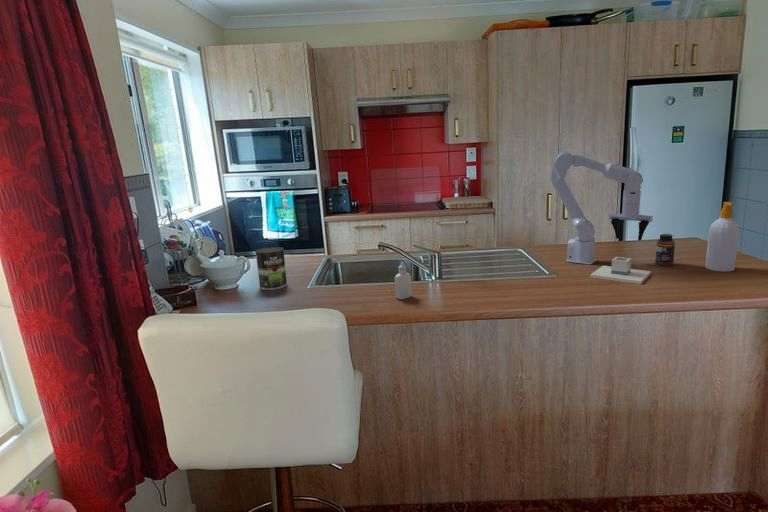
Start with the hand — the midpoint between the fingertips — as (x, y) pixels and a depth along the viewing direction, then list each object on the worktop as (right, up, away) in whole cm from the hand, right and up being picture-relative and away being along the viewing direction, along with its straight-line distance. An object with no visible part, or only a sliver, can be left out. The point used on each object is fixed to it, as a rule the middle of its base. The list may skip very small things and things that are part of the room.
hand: (628, 239), depth 177 cm
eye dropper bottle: (-87, -20, -22) cm, 92 cm away
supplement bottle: (+12, -10, -2) cm, 16 cm away
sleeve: (-9, -12, -13) cm, 20 cm away
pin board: (-9, -13, -13) cm, 21 cm away
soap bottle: (+27, -11, -11) cm, 31 cm away
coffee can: (-135, -18, -1) cm, 136 cm away
